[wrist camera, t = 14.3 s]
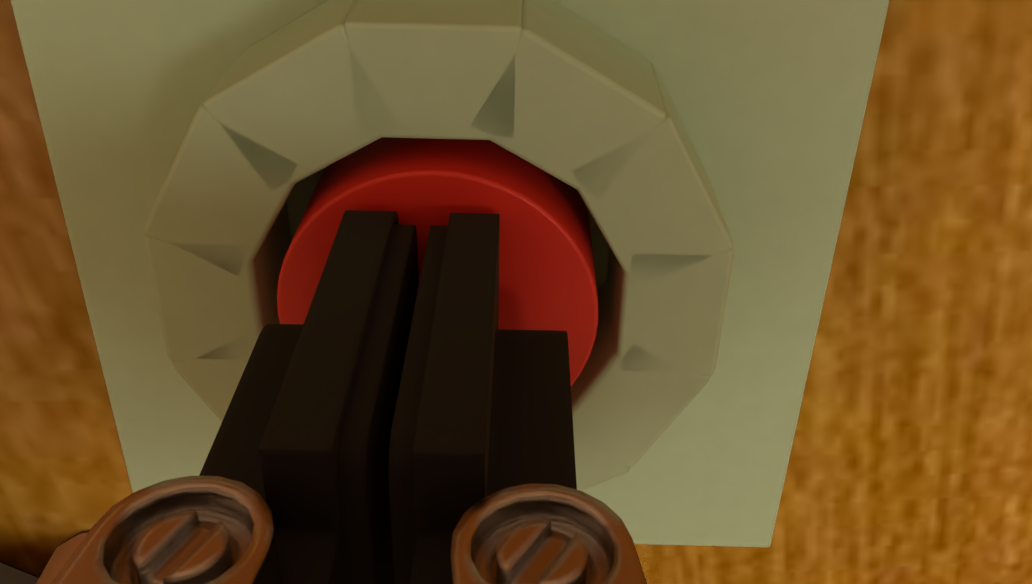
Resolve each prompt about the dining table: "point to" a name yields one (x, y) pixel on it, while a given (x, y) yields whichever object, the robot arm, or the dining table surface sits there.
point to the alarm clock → (5, 580)
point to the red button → (429, 201)
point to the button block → (517, 128)
